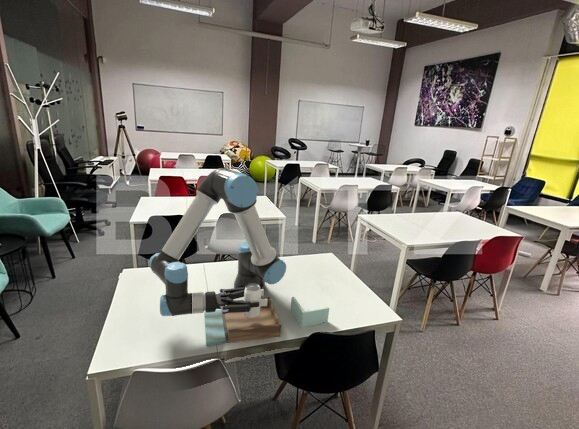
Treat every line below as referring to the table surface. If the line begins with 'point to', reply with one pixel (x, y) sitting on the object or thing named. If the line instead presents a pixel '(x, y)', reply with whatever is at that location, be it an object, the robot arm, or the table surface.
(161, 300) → the robot arm
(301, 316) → the l-shaped corner panel
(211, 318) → the grooved wooden tray
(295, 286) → the table surface
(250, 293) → the can
